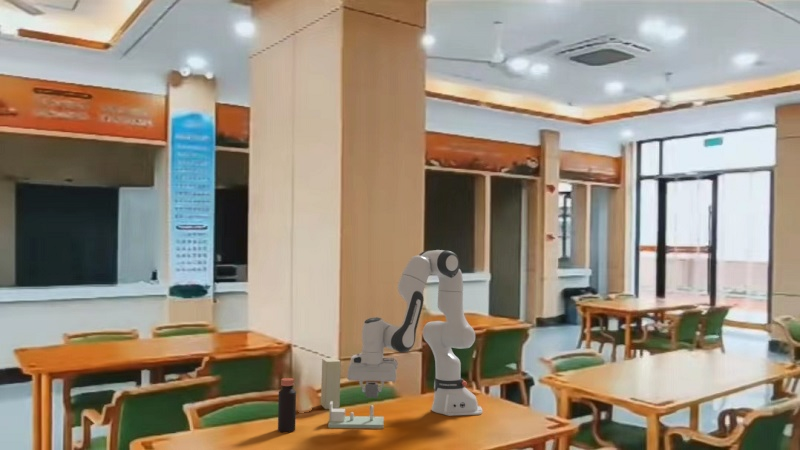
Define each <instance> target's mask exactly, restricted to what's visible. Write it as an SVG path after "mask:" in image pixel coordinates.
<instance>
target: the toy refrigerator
mask: <svg viewBox="0 0 800 450" xmlns="http://www.w3.org/2000/svg"><path fill="white" fill-rule="evenodd" d="M341 363H342V362H341V360H340V359H339V358H337V357H330V358H329V357H327V358H325V357H324V358H322V361H321V387H320V388H321V389H320V390H321V391H320V392H321V393H320V395H321V396H320V406H322V407H323V409H325V410H329V408H330V402H331V401H333V409H340V406H341V404H340V402H341V401H340V400H341V398H340V397H341V371H342V370H341Z"/></svg>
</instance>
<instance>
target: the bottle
mask: <svg viewBox="0 0 800 450" xmlns="http://www.w3.org/2000/svg"><path fill="white" fill-rule="evenodd" d="M294 381H295V379H294V378H292V377H286V378H285V377H284V378H281V379H280V386H281V389H280V390H279V391H278V407H277V408H278V409H277V431H278V432H279V431H280V433H283V432H288V433H292V432H294V431H296V418H297V417H296V414H297V413H296V411H297V409H296V408H297V406H296V405H297V392H296V390H295V389H294V384H295V382H294Z"/></svg>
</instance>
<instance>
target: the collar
mask: <svg viewBox="0 0 800 450" xmlns="http://www.w3.org/2000/svg"><path fill="white" fill-rule="evenodd" d="M364 387H365V392H364V394H365V395H364V398H378V397H379V392H378V387H379V382H377V381H365V385H364Z"/></svg>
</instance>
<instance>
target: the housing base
mask: <svg viewBox="0 0 800 450" xmlns="http://www.w3.org/2000/svg"><path fill="white" fill-rule="evenodd" d="M354 414H355V413H354V412H353V411H351V412H349V415H345V419H344V422H335V421H329V420H328V427H327V428H328V429H374V430H375V429H380V430H381V429H384V423H385V416H374V405H372V404H371V405H369V416H366V415H365V416H363V415H362V416H359V415H358V416H357V415H356V416H355V415H354Z"/></svg>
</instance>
